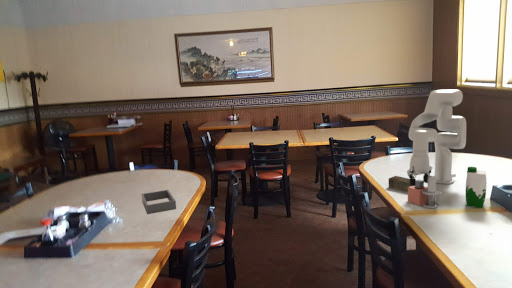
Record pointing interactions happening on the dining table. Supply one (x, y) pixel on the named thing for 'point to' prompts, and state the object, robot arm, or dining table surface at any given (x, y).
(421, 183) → the gray square bar
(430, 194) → the silver flanged rod
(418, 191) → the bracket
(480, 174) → the milk carton
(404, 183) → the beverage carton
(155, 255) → the dining table surface
